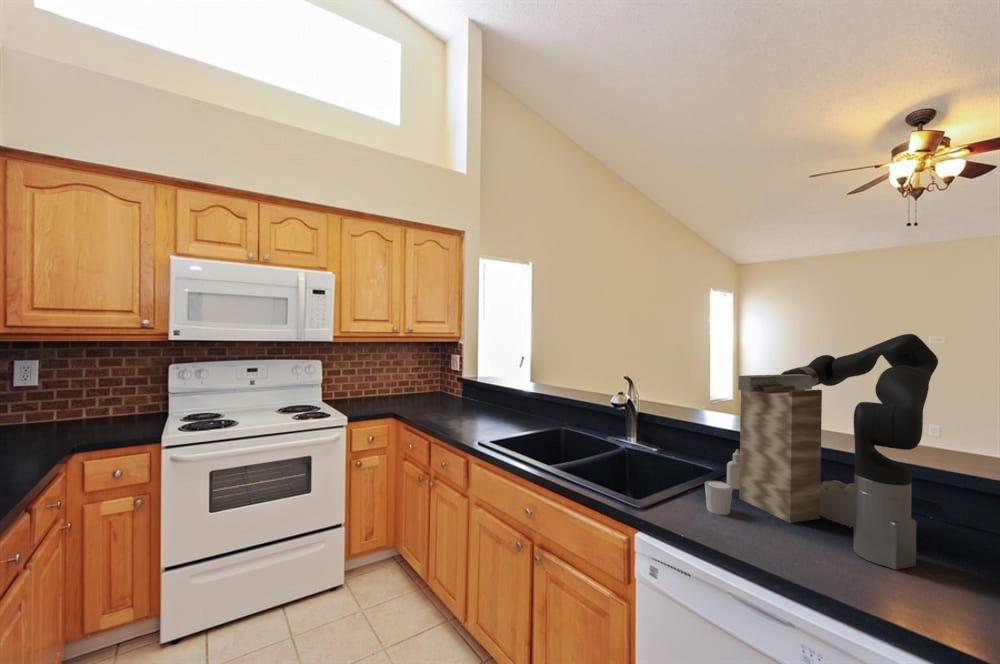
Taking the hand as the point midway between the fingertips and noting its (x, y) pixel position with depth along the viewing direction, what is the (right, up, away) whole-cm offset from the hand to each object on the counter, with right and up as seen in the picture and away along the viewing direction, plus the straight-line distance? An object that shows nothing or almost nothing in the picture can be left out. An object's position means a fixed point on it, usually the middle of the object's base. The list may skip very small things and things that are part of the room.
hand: (767, 389), depth 136 cm
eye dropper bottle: (-11, -30, -3) cm, 33 cm away
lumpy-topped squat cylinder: (+6, -31, -23) cm, 39 cm away
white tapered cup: (-25, -31, -19) cm, 44 cm away
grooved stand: (-8, -30, -18) cm, 36 cm away
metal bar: (-6, +2, -14) cm, 15 cm away
